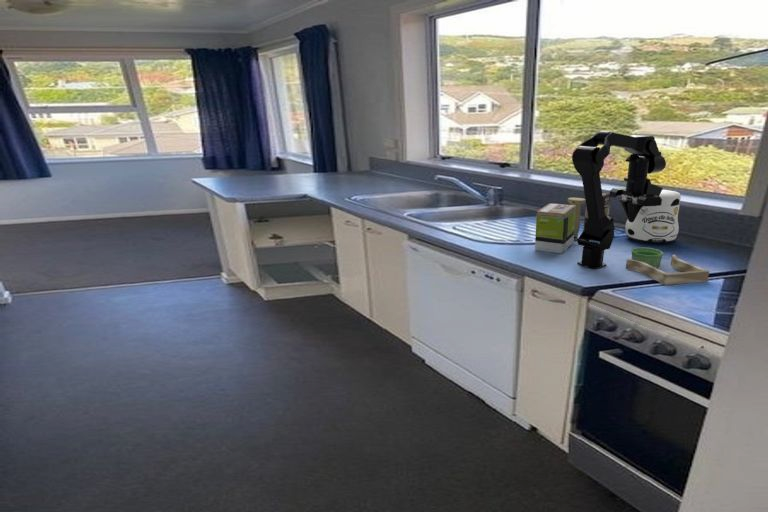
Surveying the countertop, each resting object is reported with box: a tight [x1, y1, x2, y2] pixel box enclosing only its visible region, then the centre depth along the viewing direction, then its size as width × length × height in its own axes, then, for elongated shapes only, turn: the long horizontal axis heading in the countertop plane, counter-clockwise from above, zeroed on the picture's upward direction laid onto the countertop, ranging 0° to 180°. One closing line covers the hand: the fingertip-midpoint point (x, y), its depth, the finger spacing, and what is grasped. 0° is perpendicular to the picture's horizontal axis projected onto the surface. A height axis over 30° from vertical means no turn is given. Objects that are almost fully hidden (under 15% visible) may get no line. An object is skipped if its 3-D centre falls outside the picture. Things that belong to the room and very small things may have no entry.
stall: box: [625, 254, 710, 286], centre depth 144 cm, size 16×17×3 cm
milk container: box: [625, 189, 681, 244], centre depth 176 cm, size 17×17×18 cm
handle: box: [567, 197, 586, 238], centre depth 184 cm, size 5×6×15 cm
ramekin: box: [631, 247, 664, 268], centre depth 153 cm, size 9×9×4 cm
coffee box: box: [582, 191, 612, 232], centre depth 186 cm, size 9×6×16 cm
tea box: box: [534, 202, 576, 254], centre depth 172 cm, size 15×10×15 cm
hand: (631, 222), depth 159 cm, fingers closed
